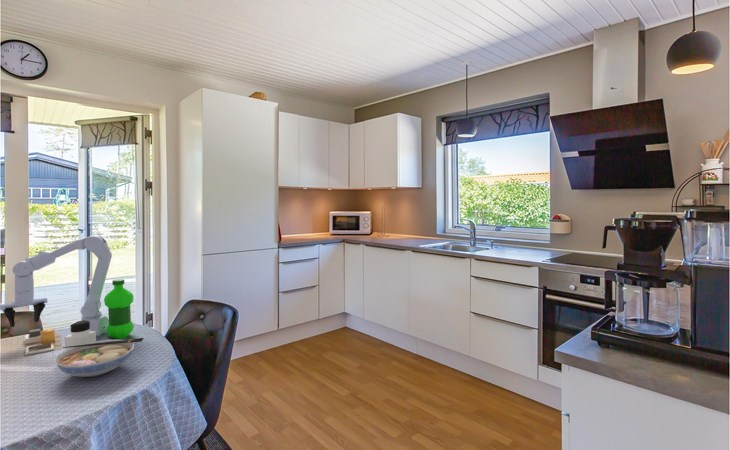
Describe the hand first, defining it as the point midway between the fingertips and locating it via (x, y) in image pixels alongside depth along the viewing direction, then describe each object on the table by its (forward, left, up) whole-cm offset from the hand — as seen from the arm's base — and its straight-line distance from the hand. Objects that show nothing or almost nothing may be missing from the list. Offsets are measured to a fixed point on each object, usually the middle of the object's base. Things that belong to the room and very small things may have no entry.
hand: (24, 323), depth 153 cm
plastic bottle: (-31, -13, -9) cm, 35 cm away
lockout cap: (-10, 0, -8) cm, 12 cm away
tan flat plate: (-9, +1, -9) cm, 13 cm away
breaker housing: (-2, -2, -8) cm, 8 cm away
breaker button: (-2, -2, -6) cm, 7 cm away
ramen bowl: (-47, +19, -9) cm, 52 cm away
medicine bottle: (-27, +3, -9) cm, 29 cm away
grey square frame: (-13, +7, -7) cm, 16 cm away
